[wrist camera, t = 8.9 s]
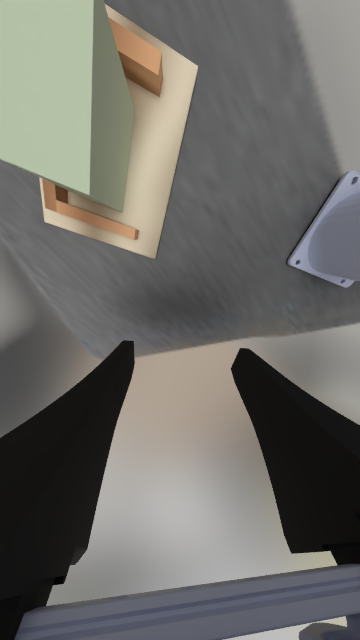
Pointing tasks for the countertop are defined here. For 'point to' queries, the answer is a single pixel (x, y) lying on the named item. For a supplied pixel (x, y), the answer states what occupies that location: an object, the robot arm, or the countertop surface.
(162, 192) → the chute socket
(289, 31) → the countertop surface
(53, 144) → the chute block
